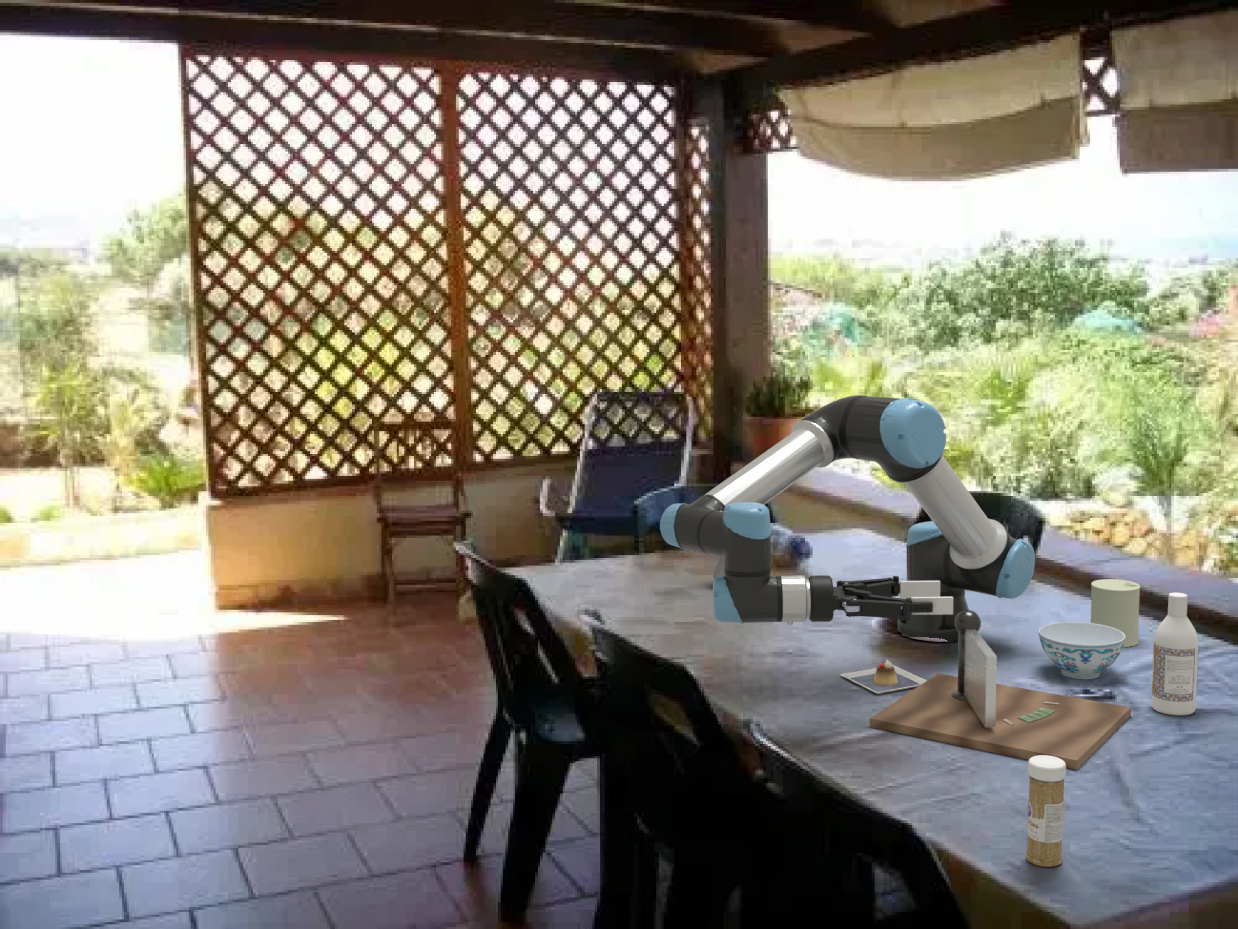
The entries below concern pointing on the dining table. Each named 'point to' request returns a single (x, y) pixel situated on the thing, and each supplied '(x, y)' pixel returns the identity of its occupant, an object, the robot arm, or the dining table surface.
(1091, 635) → the chinaware
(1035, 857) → the sprinkles bottle
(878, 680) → the dessert
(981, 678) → the panel with knobbed post
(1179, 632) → the bath foam
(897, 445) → the robot arm
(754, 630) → the dining table surface
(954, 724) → the brown wooden cutting board
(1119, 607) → the can
